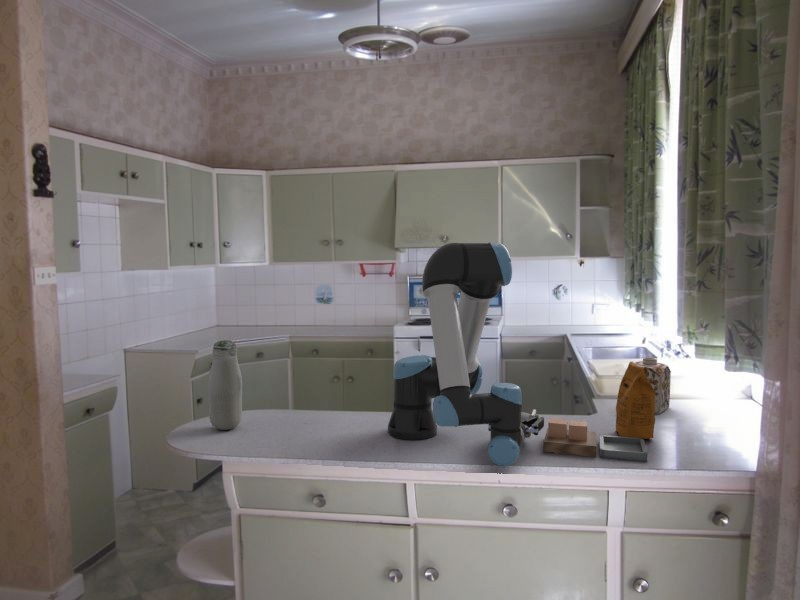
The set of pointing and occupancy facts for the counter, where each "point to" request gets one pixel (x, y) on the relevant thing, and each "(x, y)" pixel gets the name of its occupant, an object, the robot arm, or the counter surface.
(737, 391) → the counter surface
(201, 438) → the counter surface
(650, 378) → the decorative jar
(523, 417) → the ceramic mug
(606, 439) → the tray
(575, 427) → the salmon orange block
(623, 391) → the coffee package
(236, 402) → the glass bottle
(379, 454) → the counter surface
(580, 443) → the board
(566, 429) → the salmon pink block
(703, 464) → the counter surface
